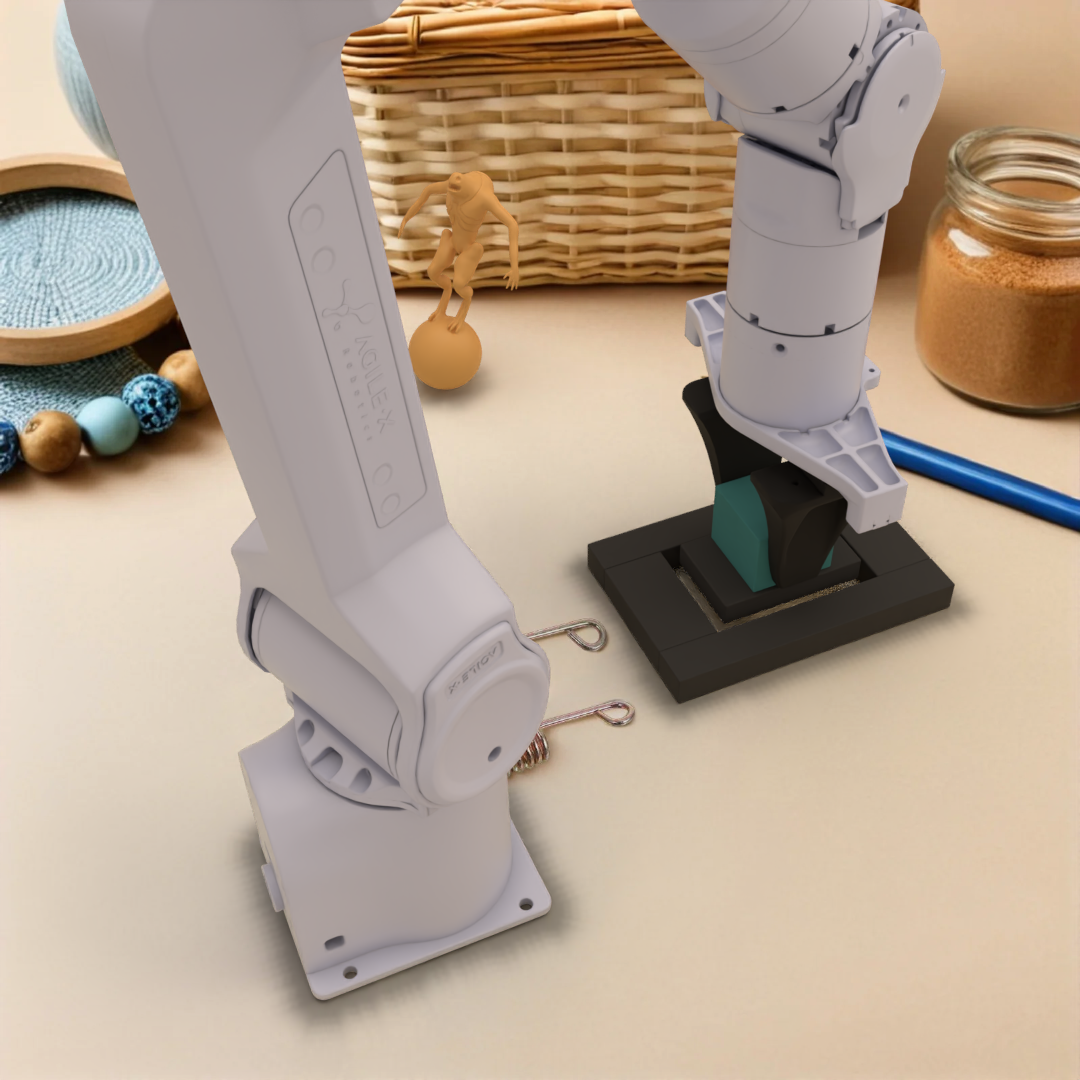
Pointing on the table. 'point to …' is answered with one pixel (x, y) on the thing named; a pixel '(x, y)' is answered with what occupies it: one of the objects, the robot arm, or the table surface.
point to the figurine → (457, 280)
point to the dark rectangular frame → (772, 640)
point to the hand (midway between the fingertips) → (770, 546)
